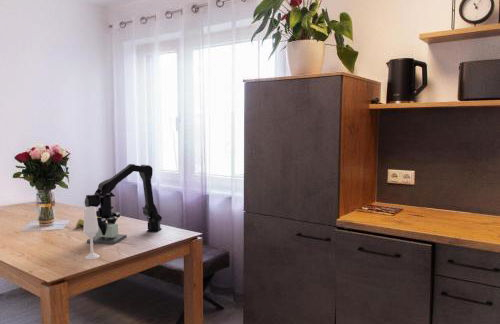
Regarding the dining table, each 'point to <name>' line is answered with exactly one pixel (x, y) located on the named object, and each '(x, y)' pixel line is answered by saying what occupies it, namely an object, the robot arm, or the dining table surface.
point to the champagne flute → (90, 228)
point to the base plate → (108, 239)
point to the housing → (108, 231)
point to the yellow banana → (81, 222)
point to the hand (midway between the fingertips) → (107, 233)
